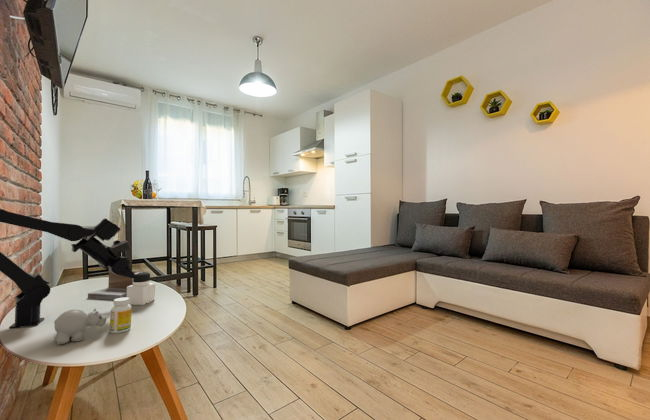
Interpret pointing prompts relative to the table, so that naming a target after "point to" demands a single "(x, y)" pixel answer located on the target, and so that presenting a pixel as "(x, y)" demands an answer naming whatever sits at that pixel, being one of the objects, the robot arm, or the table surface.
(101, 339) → the table surface
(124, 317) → the supplement bottle
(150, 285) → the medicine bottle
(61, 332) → the round bodied animal figurine
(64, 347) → the table surface
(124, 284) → the wall board
